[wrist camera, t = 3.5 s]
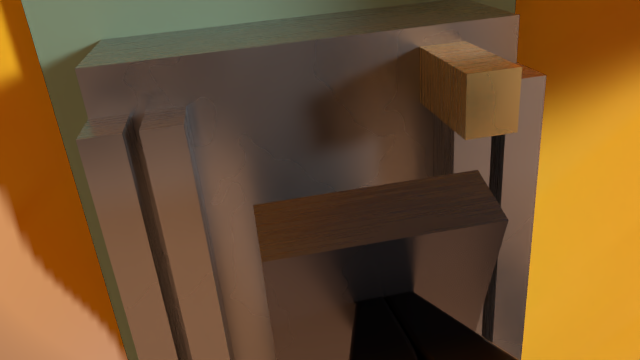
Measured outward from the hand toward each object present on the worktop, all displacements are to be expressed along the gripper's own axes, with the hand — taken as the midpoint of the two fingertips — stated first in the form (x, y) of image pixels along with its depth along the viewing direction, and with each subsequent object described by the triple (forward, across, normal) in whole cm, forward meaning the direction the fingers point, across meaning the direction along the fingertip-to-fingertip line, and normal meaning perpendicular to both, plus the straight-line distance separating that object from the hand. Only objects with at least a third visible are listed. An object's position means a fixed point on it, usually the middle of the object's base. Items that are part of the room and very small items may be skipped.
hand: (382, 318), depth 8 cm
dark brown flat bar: (+2, 0, +5) cm, 5 cm away
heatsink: (+8, 0, +5) cm, 9 cm away
